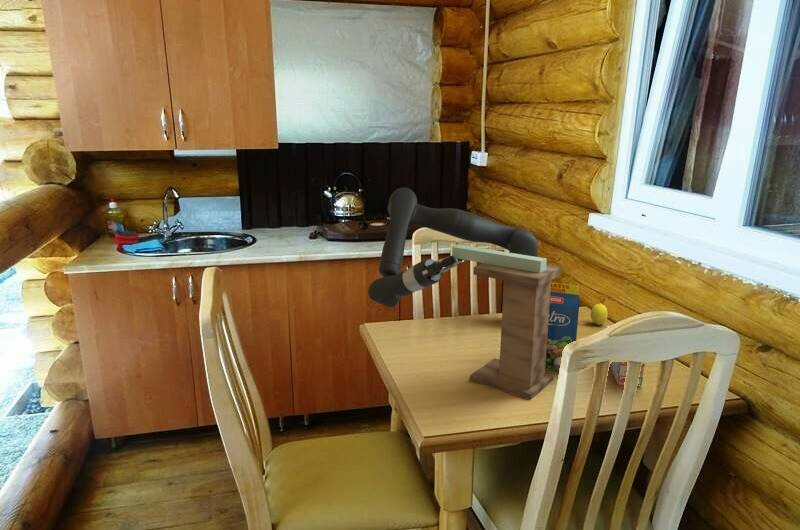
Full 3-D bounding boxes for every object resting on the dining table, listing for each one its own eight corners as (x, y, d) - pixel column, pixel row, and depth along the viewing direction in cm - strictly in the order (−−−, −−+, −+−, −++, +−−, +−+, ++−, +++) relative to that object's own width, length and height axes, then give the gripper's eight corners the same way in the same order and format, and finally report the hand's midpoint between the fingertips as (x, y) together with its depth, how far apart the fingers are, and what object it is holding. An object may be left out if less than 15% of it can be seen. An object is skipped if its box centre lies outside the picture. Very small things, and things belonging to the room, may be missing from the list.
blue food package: (571, 374, 157) (578, 288, 151) (528, 366, 162) (533, 283, 156) (574, 365, 163) (581, 282, 157) (532, 358, 168) (537, 277, 161)
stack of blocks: (604, 354, 171) (608, 315, 168) (625, 355, 170) (630, 317, 167) (617, 385, 151) (622, 343, 148) (642, 387, 150) (647, 344, 147)
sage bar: (458, 255, 158) (459, 244, 158) (546, 270, 143) (546, 258, 142) (452, 257, 156) (452, 246, 155) (540, 272, 140) (540, 261, 139)
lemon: (608, 328, 192) (611, 305, 190) (592, 328, 192) (594, 305, 190) (603, 322, 197) (605, 300, 195) (587, 322, 198) (589, 300, 196)
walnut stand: (494, 363, 164) (499, 256, 156) (553, 380, 154) (561, 267, 146) (469, 380, 154) (473, 266, 146) (530, 399, 143) (538, 278, 135)
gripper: (401, 268, 161) (443, 247, 150) (430, 259, 172) (470, 239, 161) (412, 293, 160) (454, 273, 150) (440, 281, 171) (481, 262, 160)
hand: (462, 255), depth 155 cm, fingers open, 8 cm apart
